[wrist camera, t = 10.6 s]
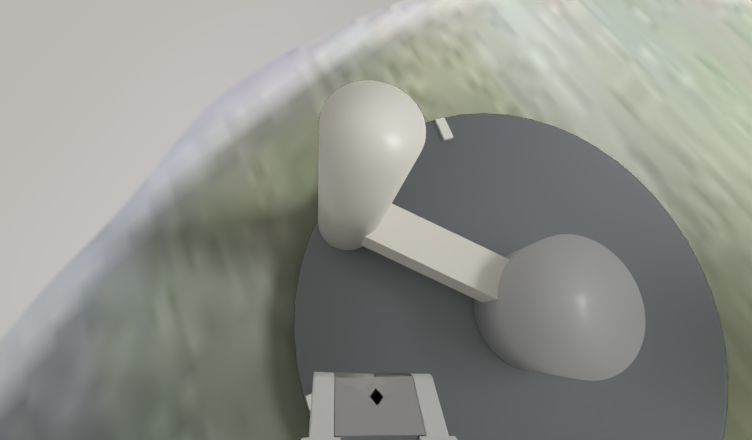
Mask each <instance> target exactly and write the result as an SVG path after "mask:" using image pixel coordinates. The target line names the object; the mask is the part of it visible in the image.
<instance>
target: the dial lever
mask: <svg viewBox="0 0 752 440" xmlns="http://www.w3.org/2000/svg"><path fill="white" fill-rule="evenodd" d="M425 139H426V125H425V121H424V118H423V115H422V113H421V111H420V109H419V107H418V106H417V105H416V103H415V102H414V101H413V100H412V99H411V98H410V97H409V96H408V95H407V94H406V93H404V92H403V91H401V90H400V89H398V88H396V87H394V86H392V85H390V84H387V83H383V82H379V81H371V80H364V81H356V82H352V83H349V84H346V85H344V86H342V87H340V88H339V89H337V90H336V91H335V92H333V93H332V94H331V95H330V96H329V97H328V99H327V100H326V101H325V103H324V105H323V107H322V110H321V113H320V118H319V181H318V227H319V231H320V233H321V235H322V237H323V238H324V239H325V241H326V242H327V243H328V244H330V245H331V246H333V247H335V248H337V249H341V250H355V249H358V248H361V247H363V246H364V247H366V248H368V249H370V250H372V251H374V252H377V253H379V254H381V255H383V256H385V257H387V258H389V259H391V260H393V261H396V262H398V263H400V264H402V265H404V266H406V267H408V268H410V269H412V270H415V271H417V272H419V273H421V274H423V275H425V276H427V277H429V278H431V279H434V280H436V281H438V282H440V283H442V284H444V285H446V286H448V287H450V288H453V289H455V290H457V291H459V292H461V293H463V294H465V295H467V296H469V297H472V298H474V314H475V319H476V323H477V326H478V328H479V331H480V333H481V335H482V337H483V339H484V340H485V342H486V343H487V345H488V346H489V347H490V349H491V350H492V351H493V352H494V353H495V354H496V355H497V356H498V357H499V358H501V359H502V360H503V361H505V362H506V363H508V364H510V365H512V366H514V367H516V368H519V369H523V370H527V371H533V372H539V373H545V374H550V375H556V376H562V377H568V378H574V379H580V380H588V381H597V380H604V379H608V378H611V377H613V376H616V375H618V374H619V373H621V372H622V371H624V370H625V369H626V368H627V367H628V366H629V365H630V364H631V363H632V362H633V361H634V359H635V358H636V356H637V354H638V353H639V351H640V348H641V345H642V343H643V339H644V334H645V310H644V304H643V301H642V297H641V294H640V291H639V288H638V286H637V284H636V282H635V280H634V278H633V277H632V275H631V273H630V272H629V270H628V269H627V268H626V266H625V265H624V264H623V262H622V261H621V260H620V259H619V258H618V257H617V256H616V255H615V254H613V253H612V252H611V251H610V250H609V249H607V248H606V247H604V246H603V245H601V244H600V243H598V242H596V241H594V240H591V239H589V238H587V237H583V236H579V235H573V234H560V235H554V236H551V237H548V238H545V239H543V240H540V241H538V242H536V243H533V244H531V245H529V246H526V247H524V248H521V249H519V250H517V251H514V252H512V253H510V254H507V255H505V256H501V255H499V254H497V253H495V252H493V251H491V250H489V249H487V248H484V247H482V246H480V245H478V244H476V243H474V242H472V241H470V240H468V239H466V238H463V237H461V236H459V235H457V234H455V233H453V232H451V231H449V230H447V229H445V228H442V227H440V226H438V225H436V224H434V223H432V222H430V221H428V220H426V219H424V218H421V217H419V216H417V215H415V214H413V213H411V212H409V211H407V210H405V209H403V208H400V207H398V206H396V205H394V204H392V202H393V200H394V198H395V197H396V195H397V193H398V191H399V190H400V188H401V186H402V184H403V183H404V181H405V179H406V177H407V176H408V174H409V172H410V170H411V169H412V167H413V165H414V163H415V162H416V160H417V158H418V156H419V155H420V153H421V151H422V149H423V146H424V144H425Z"/></svg>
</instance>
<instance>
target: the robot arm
mask: <svg viewBox="0 0 752 440" xmlns="http://www.w3.org/2000/svg"><path fill="white" fill-rule="evenodd" d="M301 440H458V439H457V438H456V437H455V436H449V435H448V431H447V428H446V424H445V420H444V417H443V413H442V410H441V406H440V402H439V399H438V395H437V391H436V388H435V384H434V381H433V377H432V376H431V375H430V374H410V373H373V374H365V373H341V372H335V373H334V372H314V376H313V386H312V399H311V412H310V425H309V437H303V438H301Z"/></svg>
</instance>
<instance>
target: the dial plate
mask: <svg viewBox="0 0 752 440" xmlns="http://www.w3.org/2000/svg"><path fill="white" fill-rule="evenodd" d="M425 125H426V139H425V144H424V146H423V149H422V151H421V153H420V155H419V156H418V158H417V160H416V162H415V163H414V165H413V167H412V169H411V170H410V172H409V174H408V176H407V177H406V179H405V181H404V183H403V184H402V186H401V188H400V190H399V191H398V193H397V195H396V197H395V198H394V200H393V202H392V204H394V205H396V206H398V207H400V208H403V209H405V210H407V211H409V212H411V213H413V214H415V215H417V216H419V217H421V218H424V219H426V220H428V221H430V222H432V223H434V224H436V225H438V226H440V227H442V228H445V229H447V230H449V231H451V232H453V233H455V234H457V235H459V236H461V237H463V238H466V239H468V240H470V241H472V242H474V243H476V244H478V245H480V246H482V247H484V248H487V249H489V250H491V251H493V252H495V253H497V254H499V255H501V256H505V255H507V254H510V253H512V252H514V251H517V250H519V249H521V248H524V247H526V246H529V245H531V244H533V243H536V242H538V241H540V240H543V239H545V238H548V237H551V236H554V235H560V234H573V235H579V236H583V237H587V238H589V239H591V240H594V241H596V242H598V243H600V244H601V245H603V246H604V247H606V248H607V249H609V250H610V251H611V252H612V253H613V254H615V255H616V256H617V257H618V258H619V259H620V260H621V261H622V262H623V264H624V265H625V266H626V268H627V269H628V270H629V272H630V273H631V275H632V277H633V278H634V280H635V282H636V284H637V286H638V288H639V291H640V294H641V297H642V301H643V304H644V310H645V334H644V339H643V343H642V345H641V348H640V351H639V353H638V354H637V356H636V358H635V359H634V361H633V362H632V363H631V364H630V365H629V366H628V367H627V368H626V369H625V370H624V371H622V372H621V373H619V374H618V375H616V376H613V377H611V378H608V379H604V380H597V381H588V380H580V379H574V378H568V377H562V376H556V375H550V374H545V373H539V372H533V371H527V370H523V369H519V368H516V367H514V366H512V365H510V364H508V363H506V362H505V361H503V360H502V359H501V358H499V357H498V356H497V355H496V354H495V353H494V352H493V351H492V350H491V349H490V347H489V346H488V345H487V343H486V342H485V340H484V339H483V337H482V335H481V333H480V331H479V328H478V326H477V323H476V319H475V314H474V298H472V297H469V296H467V295H465V294H463V293H461V292H459V291H457V290H455V289H453V288H450V287H448V286H446V285H444V284H442V283H440V282H438V281H436V280H434V279H431V278H429V277H427V276H425V275H423V274H421V273H419V272H417V271H415V270H412V269H410V268H408V267H406V266H404V265H402V264H400V263H398V262H396V261H393V260H391V259H389V258H387V257H385V256H383V255H381V254H379V253H377V252H374V251H372V250H370V249H368V248H366V247H364V246H363V247H361V248H358V249H355V250H341V249H337V248H335V247H333V246H331V245H330V244H328V243H327V242H326V241H325V239H324V238H323V237H322V235H321V233H320V231H319V227H318V220H317V222H316V225H315V227H314V229H313V231H312V233H311V235H310V238H309V241H308V244H307V248H306V251H305V254H304V257H303V261H302V264H301V268H300V274H299V280H298V286H297V292H296V298H295V323H294V336H295V347H296V357H297V368H298V372H299V377H300V381H301V386H302V390H303V395H304V399H305V404H306V406H307V409H308V412H309V415H310V412H311V399H312V386H313V376H314V372H334V373H335V372H341V373H365V374H373V373H410V374H430V375H431V376H432V377H433V381H434V384H435V388H436V391H437V395H438V399H439V402H440V406H441V410H442V413H443V417H444V420H445V424H446V428H447V431H448V435H449V436H455V437H456V438H457V439H458V440H723V437H724V430H725V423H726V416H727V408H728V371H727V360H726V349H725V344H724V339H723V334H722V329H721V324H720V319H719V316H718V312H717V309H716V306H715V303H714V299H713V296H712V293H711V290H710V288H709V285H708V283H707V280H706V278H705V276H704V273H703V271H702V268H701V266H700V264H699V262H698V260H697V258H696V256H695V255H694V253H693V251H692V249H691V247H690V245H689V243H688V241H687V240H686V238H685V237H684V235H683V234H682V232H681V231H680V229H679V228H678V226H677V225H676V223H675V222H674V220H673V219H672V217H671V216H670V215H669V214H668V212H667V211H666V210H665V209H664V207H663V206H662V205H661V204H660V202H659V201H658V200H657V199H656V197H655V196H654V195H653V194H652V193H651V192H650V191H649V190H648V189H647V188H646V187H645V186H644V185H643V184H642V183H641V182H640V181H639V180H638V179H637V178H636V177H635V176H634V175H632V174H631V173H630V172H629V171H628V170H627V169H625V168H624V167H623V166H622V165H621V164H620V163H618V162H617V161H616V160H614V159H613V158H611V157H610V156H608V155H607V154H606V153H604V152H603V151H601V150H600V149H598V148H597V147H595V146H593V145H591V144H590V143H588V142H586V141H584V140H583V139H581V138H579V137H577V136H575V135H573V134H570V133H568V132H566V131H563V130H561V129H559V128H556V127H554V126H551V125H548V124H545V123H541V122H538V121H535V120H532V119H527V118H521V117H516V116H511V115H501V114H486V113H483V114H464V115H457V116H451V117H446V118H445V117H443V118H439V119H436V120H433V121H430V122H427V123H425Z"/></svg>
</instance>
